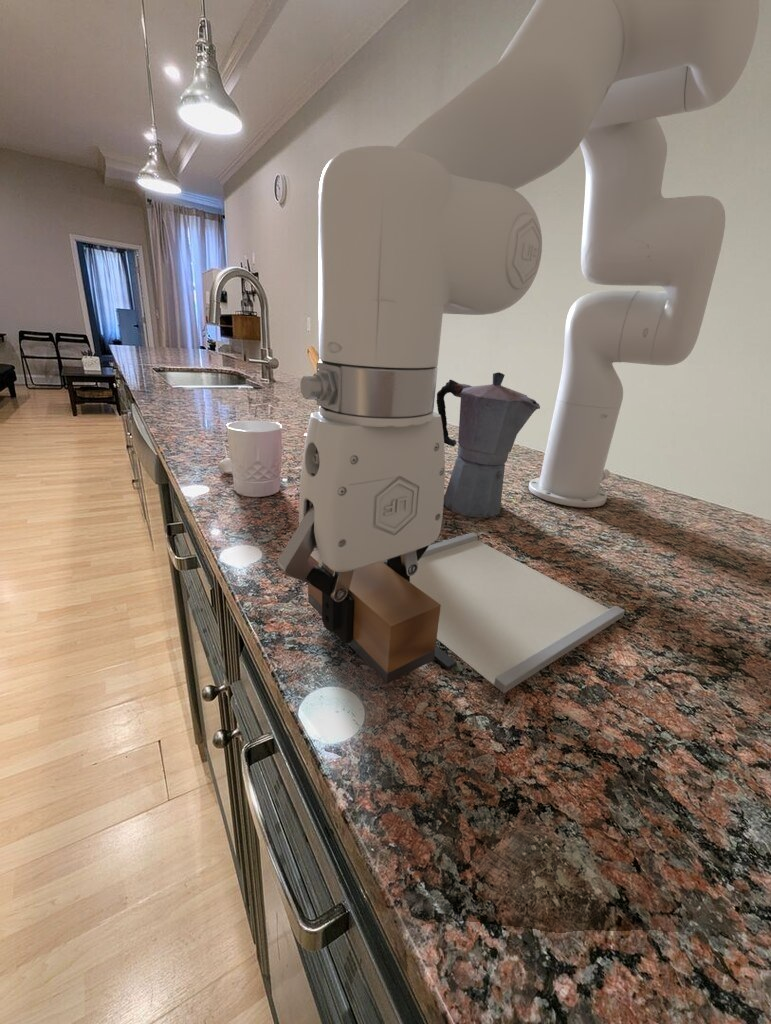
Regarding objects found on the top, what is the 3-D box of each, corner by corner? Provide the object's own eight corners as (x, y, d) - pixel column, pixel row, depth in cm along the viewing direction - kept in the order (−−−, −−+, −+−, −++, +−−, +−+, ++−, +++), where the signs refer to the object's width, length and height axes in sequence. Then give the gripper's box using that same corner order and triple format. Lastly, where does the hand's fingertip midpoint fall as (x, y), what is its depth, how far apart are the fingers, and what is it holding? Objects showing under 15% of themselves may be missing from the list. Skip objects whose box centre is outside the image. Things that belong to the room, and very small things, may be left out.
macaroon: (247, 470, 77) (246, 456, 76) (240, 479, 73) (239, 464, 72) (222, 469, 77) (221, 455, 76) (213, 478, 73) (212, 463, 72)
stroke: (416, 648, 37) (417, 641, 37) (425, 643, 38) (426, 637, 38) (447, 674, 35) (448, 666, 35) (456, 669, 35) (457, 662, 35)
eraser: (350, 587, 42) (352, 539, 40) (434, 659, 34) (441, 604, 32) (308, 602, 39) (307, 552, 37) (386, 684, 31) (390, 626, 29)
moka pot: (507, 531, 61) (536, 379, 53) (409, 503, 68) (422, 366, 60) (527, 511, 68) (555, 375, 61) (437, 487, 76) (451, 364, 68)
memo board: (471, 538, 58) (472, 532, 57) (622, 618, 43) (625, 610, 43) (355, 575, 47) (355, 567, 47) (503, 696, 33) (505, 685, 33)
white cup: (237, 480, 72) (233, 418, 68) (286, 482, 73) (285, 421, 69) (225, 498, 65) (220, 430, 61) (280, 499, 66) (278, 432, 62)
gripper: (280, 412, 22) (291, 696, 29) (506, 395, 31) (471, 612, 38) (227, 389, 27) (247, 633, 34) (433, 381, 37) (415, 573, 44)
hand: (366, 619), depth 36 cm, fingers closed on eraser, 4 cm apart
